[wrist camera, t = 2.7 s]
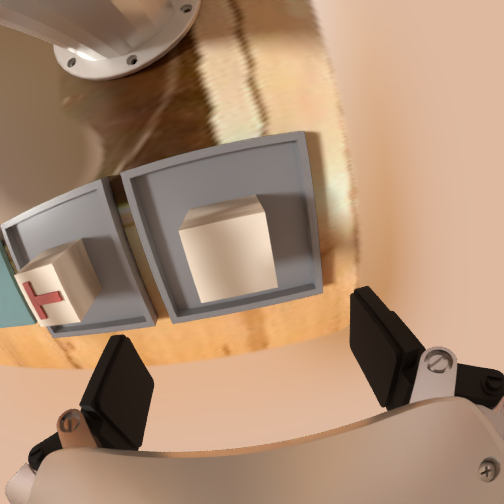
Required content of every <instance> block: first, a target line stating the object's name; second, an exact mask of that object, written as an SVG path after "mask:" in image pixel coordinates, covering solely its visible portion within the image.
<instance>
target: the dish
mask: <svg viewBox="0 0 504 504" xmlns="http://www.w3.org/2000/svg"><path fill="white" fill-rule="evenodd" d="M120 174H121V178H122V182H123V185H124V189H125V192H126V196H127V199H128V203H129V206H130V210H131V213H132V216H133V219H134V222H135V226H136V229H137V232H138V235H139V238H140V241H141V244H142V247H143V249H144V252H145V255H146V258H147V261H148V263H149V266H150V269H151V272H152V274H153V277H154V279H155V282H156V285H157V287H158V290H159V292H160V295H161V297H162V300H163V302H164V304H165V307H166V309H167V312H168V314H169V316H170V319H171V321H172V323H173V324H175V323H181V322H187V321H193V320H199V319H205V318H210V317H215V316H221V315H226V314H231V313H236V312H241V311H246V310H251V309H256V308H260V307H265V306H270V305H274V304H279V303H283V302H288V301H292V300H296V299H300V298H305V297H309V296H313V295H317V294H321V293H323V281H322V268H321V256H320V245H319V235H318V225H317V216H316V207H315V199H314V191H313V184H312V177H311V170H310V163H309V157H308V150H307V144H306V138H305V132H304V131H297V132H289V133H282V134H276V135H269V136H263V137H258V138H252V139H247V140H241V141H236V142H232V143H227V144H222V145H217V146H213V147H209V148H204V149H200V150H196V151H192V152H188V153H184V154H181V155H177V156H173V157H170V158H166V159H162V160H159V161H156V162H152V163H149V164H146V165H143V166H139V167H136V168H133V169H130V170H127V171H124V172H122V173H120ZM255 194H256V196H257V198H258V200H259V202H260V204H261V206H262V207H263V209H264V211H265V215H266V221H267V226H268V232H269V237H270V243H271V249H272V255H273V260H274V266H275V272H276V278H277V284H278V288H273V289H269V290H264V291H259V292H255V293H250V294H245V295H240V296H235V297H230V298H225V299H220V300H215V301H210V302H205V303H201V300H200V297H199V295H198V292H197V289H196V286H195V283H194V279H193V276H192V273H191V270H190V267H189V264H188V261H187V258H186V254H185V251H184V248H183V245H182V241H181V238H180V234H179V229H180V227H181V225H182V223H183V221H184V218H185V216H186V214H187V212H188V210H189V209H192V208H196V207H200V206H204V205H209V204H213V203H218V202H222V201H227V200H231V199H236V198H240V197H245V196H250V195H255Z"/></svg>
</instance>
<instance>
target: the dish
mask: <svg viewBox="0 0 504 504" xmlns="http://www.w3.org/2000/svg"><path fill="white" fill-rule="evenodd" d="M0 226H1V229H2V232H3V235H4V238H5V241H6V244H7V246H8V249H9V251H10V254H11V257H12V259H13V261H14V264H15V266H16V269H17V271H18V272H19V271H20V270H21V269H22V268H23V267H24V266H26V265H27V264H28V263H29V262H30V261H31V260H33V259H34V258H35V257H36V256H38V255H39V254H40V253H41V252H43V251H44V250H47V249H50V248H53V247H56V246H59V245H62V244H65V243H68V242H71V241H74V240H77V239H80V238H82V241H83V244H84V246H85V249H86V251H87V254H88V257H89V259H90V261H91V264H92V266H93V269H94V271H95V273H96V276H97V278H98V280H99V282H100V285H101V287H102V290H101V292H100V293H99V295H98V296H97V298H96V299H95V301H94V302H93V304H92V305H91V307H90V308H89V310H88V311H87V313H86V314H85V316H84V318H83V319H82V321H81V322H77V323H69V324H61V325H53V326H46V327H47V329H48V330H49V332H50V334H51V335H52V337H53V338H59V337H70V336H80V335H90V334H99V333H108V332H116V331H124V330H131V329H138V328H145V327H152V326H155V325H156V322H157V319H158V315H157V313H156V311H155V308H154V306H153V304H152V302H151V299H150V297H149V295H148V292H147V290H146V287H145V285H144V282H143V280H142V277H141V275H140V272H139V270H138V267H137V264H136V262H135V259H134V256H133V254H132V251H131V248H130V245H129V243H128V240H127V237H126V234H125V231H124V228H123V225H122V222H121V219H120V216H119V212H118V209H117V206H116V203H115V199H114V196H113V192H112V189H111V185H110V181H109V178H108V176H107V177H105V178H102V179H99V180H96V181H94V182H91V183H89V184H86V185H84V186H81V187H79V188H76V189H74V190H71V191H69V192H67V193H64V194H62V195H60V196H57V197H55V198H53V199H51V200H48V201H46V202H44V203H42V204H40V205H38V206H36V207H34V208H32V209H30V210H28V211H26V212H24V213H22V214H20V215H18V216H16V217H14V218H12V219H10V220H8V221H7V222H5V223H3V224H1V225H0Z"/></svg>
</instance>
